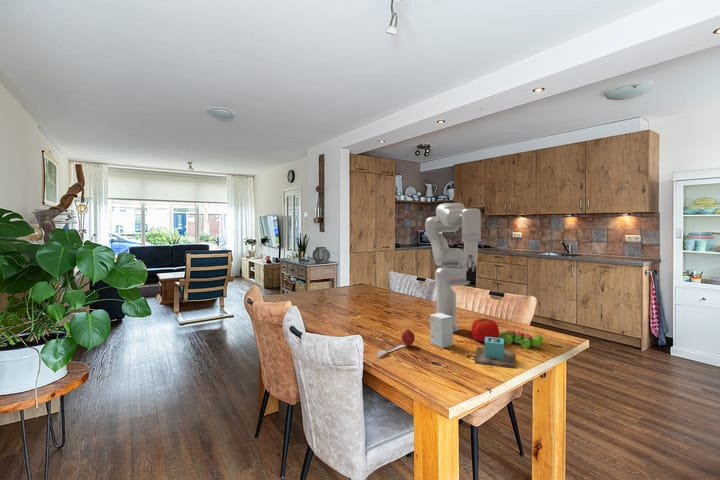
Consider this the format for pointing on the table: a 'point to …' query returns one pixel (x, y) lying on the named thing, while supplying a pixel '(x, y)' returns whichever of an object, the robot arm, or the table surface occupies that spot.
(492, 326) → the tomato
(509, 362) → the post board
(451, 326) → the small box
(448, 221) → the robot arm
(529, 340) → the toy crocodile
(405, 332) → the onion
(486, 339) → the bead
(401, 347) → the fork
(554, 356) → the table surface
